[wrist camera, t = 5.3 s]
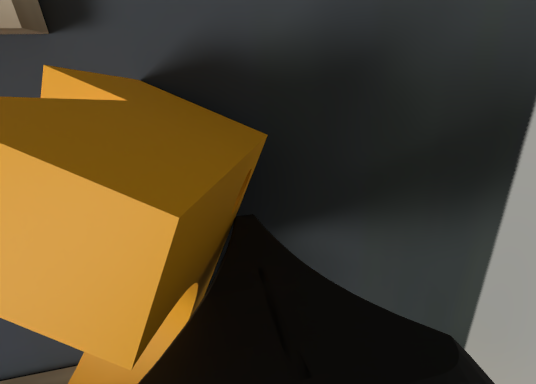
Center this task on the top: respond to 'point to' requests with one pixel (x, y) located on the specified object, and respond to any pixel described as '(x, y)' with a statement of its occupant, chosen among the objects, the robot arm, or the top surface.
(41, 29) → the rail channel
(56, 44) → the top surface
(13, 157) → the pipe clamp
